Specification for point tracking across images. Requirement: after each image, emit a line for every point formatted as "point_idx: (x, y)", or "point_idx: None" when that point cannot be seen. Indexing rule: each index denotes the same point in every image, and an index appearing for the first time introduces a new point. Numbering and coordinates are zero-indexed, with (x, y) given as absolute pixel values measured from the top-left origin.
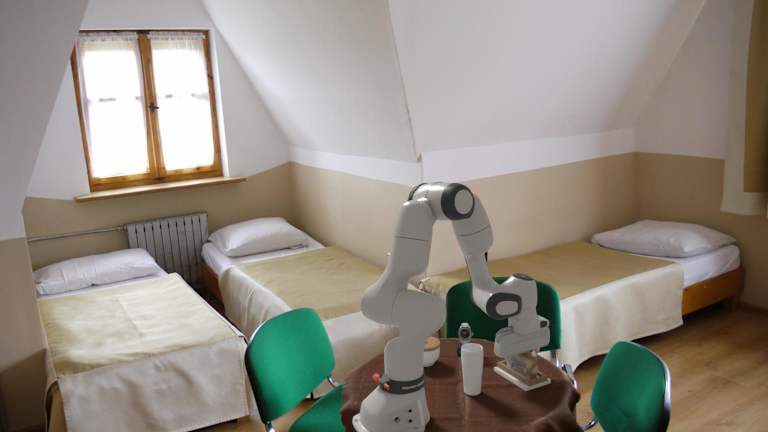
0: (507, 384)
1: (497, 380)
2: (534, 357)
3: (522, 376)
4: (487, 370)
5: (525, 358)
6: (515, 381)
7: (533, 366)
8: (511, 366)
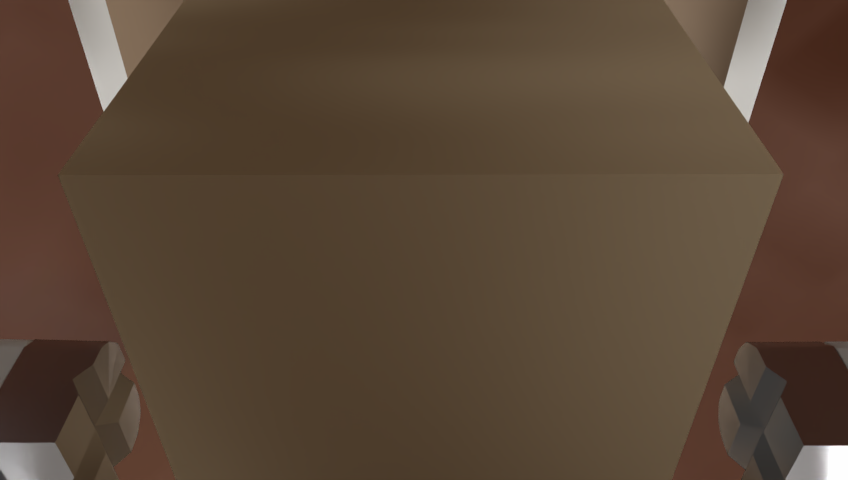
0: (841, 94)
1: (827, 261)
2: (174, 338)
3: (698, 10)
4: (677, 469)
5: (640, 435)
6: (768, 43)
7: (408, 2)
8: (838, 361)
